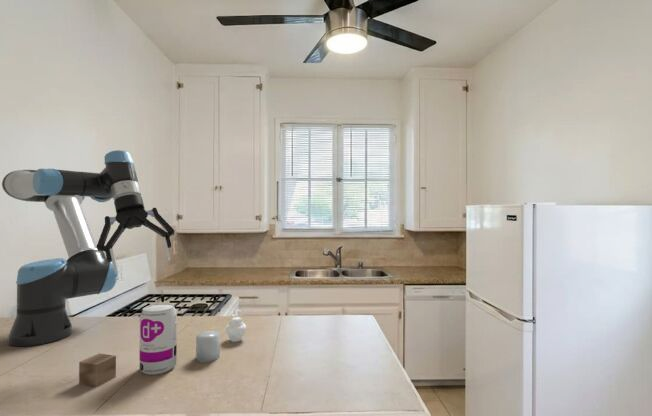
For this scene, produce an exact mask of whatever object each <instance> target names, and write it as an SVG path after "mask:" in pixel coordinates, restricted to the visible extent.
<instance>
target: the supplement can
mask: <svg viewBox="0 0 652 416" xmlns="http://www.w3.org/2000/svg"><path fill="white" fill-rule="evenodd" d="M177 322H178V311H177V309H176V308H175V305H174V304H173V303H172V304H171V303H158V304H157V303H156V304H152V305H151V304H150V305H147V306H145V307H143V309H142V311H141V313H140V315H139V359H138V361H139V365H138V366H139V371H140V372H142V374H145V375H149V376H151V375H153V376H154V375H155V376H156V375H161V374H164V373H168V372H169V371H171V370H172V369H174V367H175V366H176V365H177V344H178V343H177V341H178V340H177V338H178V337H177V334H178V329H177V328H178V327H177V325H178V323H177Z"/></svg>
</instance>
